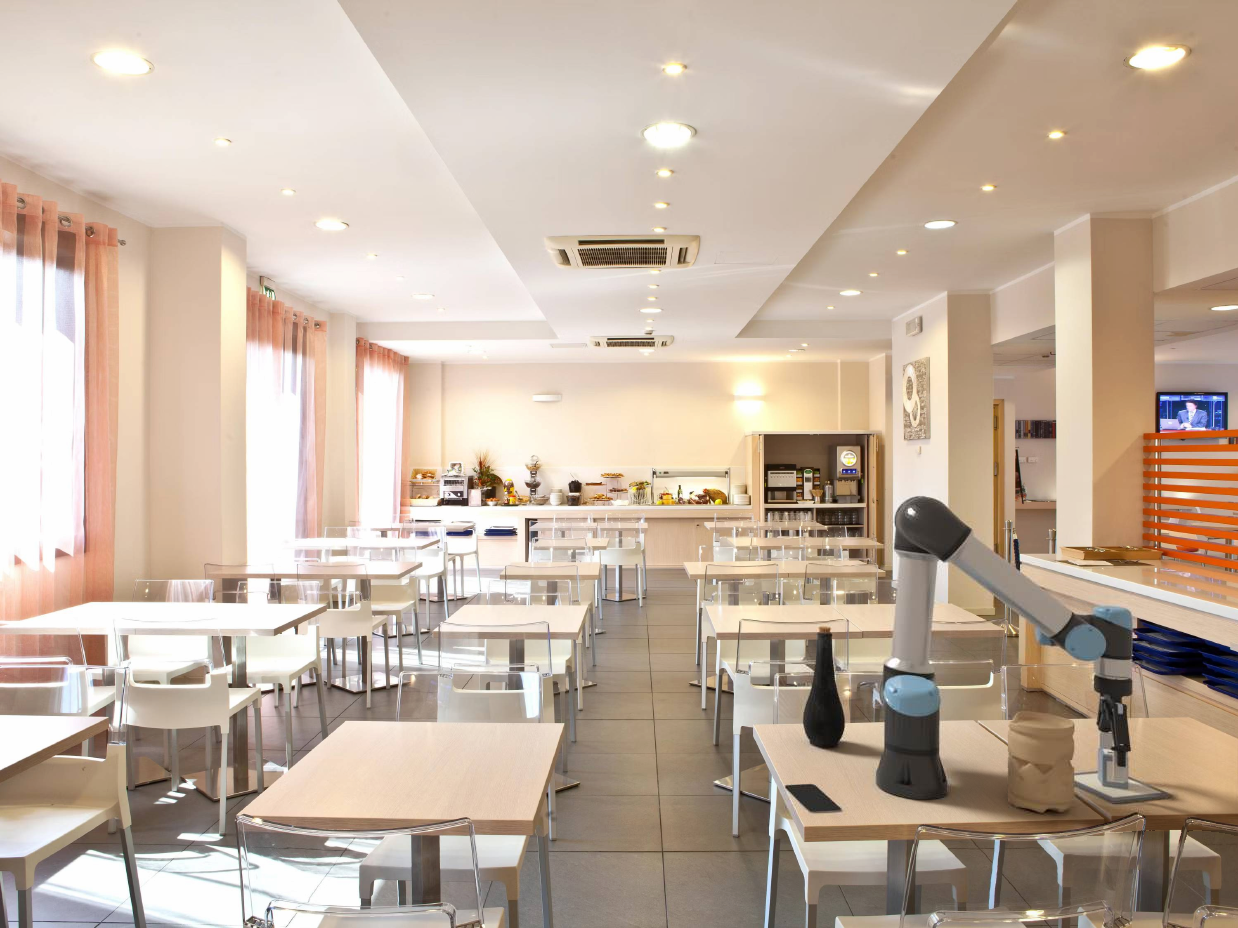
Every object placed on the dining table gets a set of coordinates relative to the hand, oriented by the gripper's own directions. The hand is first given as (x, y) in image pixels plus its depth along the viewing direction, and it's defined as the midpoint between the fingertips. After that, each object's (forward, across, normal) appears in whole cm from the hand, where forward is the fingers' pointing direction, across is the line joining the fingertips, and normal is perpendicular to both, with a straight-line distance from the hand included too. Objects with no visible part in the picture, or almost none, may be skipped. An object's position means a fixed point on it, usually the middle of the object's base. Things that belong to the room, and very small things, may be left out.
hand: (1112, 770), depth 185 cm
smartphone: (+4, -32, +63) cm, 71 cm away
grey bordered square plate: (+4, 0, 0) cm, 4 cm away
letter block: (+3, 0, 0) cm, 3 cm away
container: (+4, -18, +17) cm, 25 cm away
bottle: (+4, +7, +64) cm, 65 cm away
